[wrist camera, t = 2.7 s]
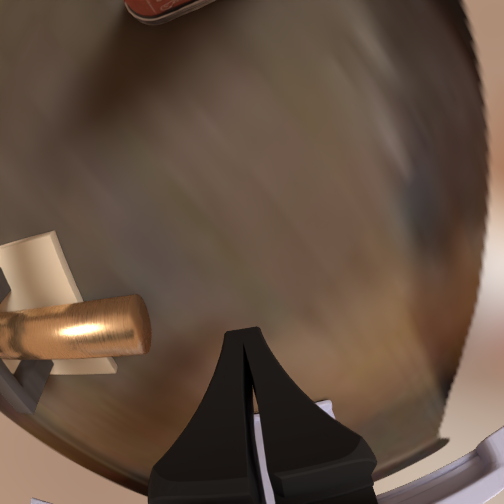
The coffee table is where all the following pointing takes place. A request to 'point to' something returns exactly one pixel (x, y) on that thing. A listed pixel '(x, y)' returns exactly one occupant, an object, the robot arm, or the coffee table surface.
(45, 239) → the board
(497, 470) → the robot arm
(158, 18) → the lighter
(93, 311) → the tube
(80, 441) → the coffee table surface
